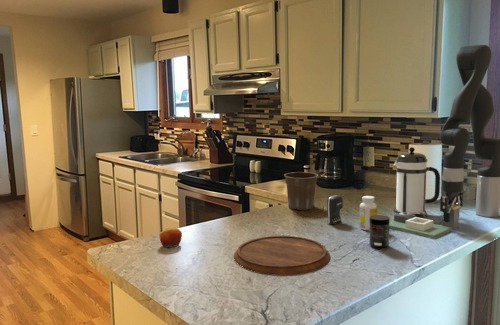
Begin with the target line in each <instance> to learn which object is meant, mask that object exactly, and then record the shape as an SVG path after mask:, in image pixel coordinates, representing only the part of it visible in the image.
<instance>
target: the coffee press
mask: <svg viewBox="0 0 500 325" xmlns="http://www.w3.org/2000/svg"><path fill="white" fill-rule="evenodd" d="M408 151H409V152H401V153H400V154H398V155H397V158H395V159H396V160H395V162H394V163H393V166H394V167H396V168H395V170H396V192H395V193H396V195H395V196H396V202H395V204H396V205H395V207H394V209H393V212H394V213H397V212H399V213H401V212H406V213H410V214H412V215H419V214H421V216H422V217H424V218H427V217H428V216H429V214H428V213H427V212H426V204H433V203H435V202H437V200H438V199H439V197H440V191H441V190H440V188H441V175H440V172H439V170H438V169H437V168H435V167H433V166H428V167H427V163H428V158H427V156H426V155H425V154H423V153H421V152H415V148H414V147H413V146H412V147H409V149H408ZM429 171H430V172H432V173H433V174H434V177H435V178H434V195H433V196H432V197H431V198H426V194H427V193H426V191H427V189H426V188H427V173H428V172H429Z"/></svg>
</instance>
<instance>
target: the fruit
mask: <svg viewBox="0 0 500 325" xmlns="http://www.w3.org/2000/svg"><path fill="white" fill-rule="evenodd" d="M182 233H183V231H182V230H180V229H179V228H176V227H168V228H166V229H164V230H162V231H161V232H160V233H159V241H160V244H161V245H162V247H164V248H167V247H170V248H171V246H172V247H177V246H179V245H180V243H181V241H182V236H183V234H182Z"/></svg>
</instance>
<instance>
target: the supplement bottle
mask: <svg viewBox="0 0 500 325" xmlns="http://www.w3.org/2000/svg"><path fill="white" fill-rule="evenodd" d="M361 199H362V202H361V203H360V204H359V228H360V229H361V230H364V231H369V230H370V222H369V221H370V216H372V215H378V205H377V203H375V200H376V198H375V196H373V195H364V196H362V197H361Z"/></svg>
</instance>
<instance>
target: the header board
mask: <svg viewBox="0 0 500 325" xmlns="http://www.w3.org/2000/svg"><path fill="white" fill-rule="evenodd" d="M416 215H417V214H410V213H406V212H399V213H396V214H394V216H393V218H394V219H393V218H392V219H390V223H389V230H390V229H392V230H395V231H400V232H404V233H408V234H412V235H416V236H420V237H424V238H425V237H426V238H430V239H436V238H438V237H441V236H443V235H445V234H447V233H449V232H452V228H451V227H447V226H444V225H440V224H437V223H436V224H435V223H434V220H433V219H427V218H422V217H417V216H416Z"/></svg>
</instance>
